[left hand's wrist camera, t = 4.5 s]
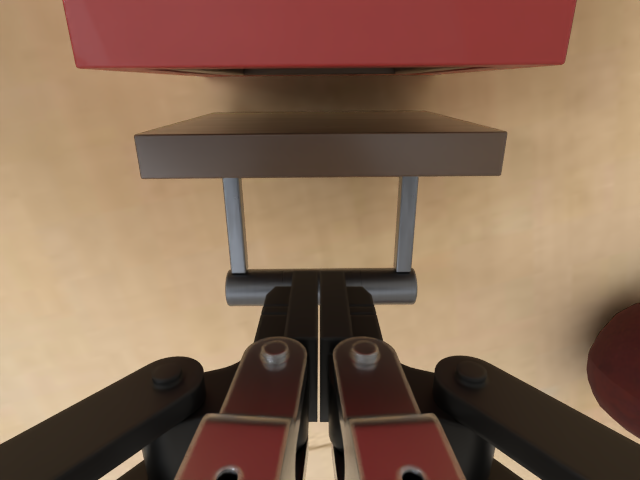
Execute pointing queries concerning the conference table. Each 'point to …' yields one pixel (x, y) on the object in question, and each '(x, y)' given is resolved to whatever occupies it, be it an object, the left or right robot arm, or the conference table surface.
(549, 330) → the conference table surface
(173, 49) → the cabinet
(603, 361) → the dark maroon ball
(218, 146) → the drawer
